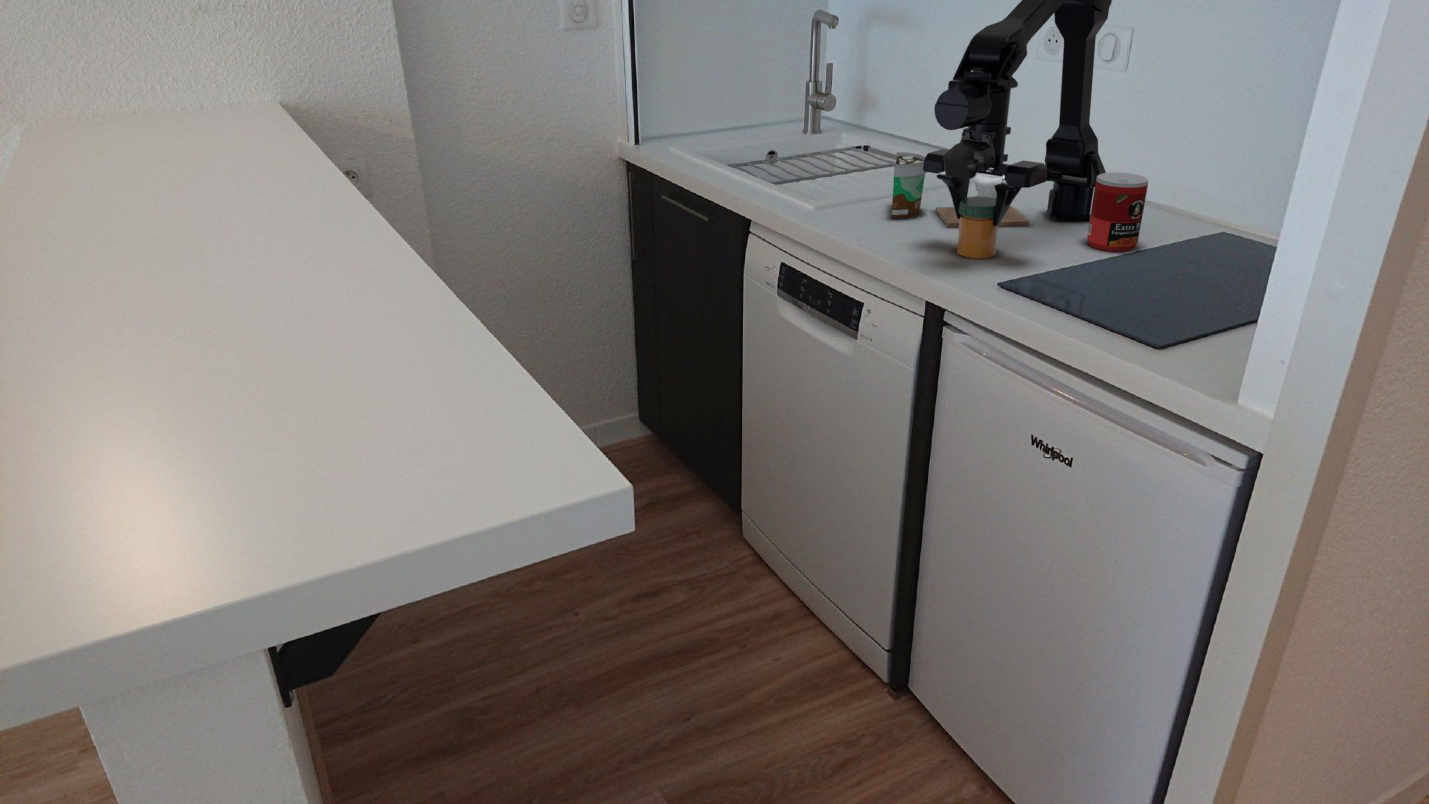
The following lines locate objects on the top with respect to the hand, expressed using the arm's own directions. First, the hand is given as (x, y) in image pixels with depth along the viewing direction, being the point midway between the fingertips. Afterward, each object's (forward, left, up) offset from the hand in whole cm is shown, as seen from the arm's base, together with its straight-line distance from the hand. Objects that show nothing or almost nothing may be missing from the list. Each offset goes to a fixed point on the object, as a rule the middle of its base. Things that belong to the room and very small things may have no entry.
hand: (977, 222), depth 151 cm
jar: (0, 0, -5) cm, 5 cm away
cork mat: (-6, -21, -5) cm, 22 cm away
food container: (+6, -26, -5) cm, 27 cm away
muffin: (-11, -35, -5) cm, 37 cm away
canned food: (-23, -3, -5) cm, 24 cm away
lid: (0, 0, +3) cm, 3 cm away
